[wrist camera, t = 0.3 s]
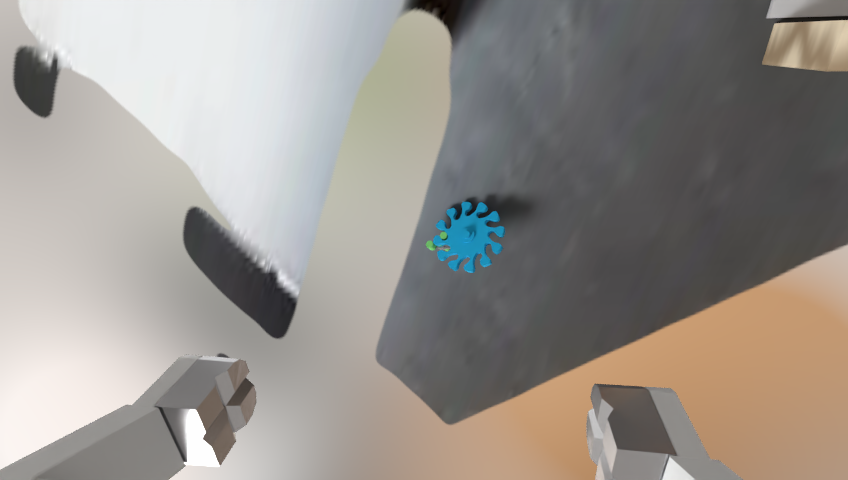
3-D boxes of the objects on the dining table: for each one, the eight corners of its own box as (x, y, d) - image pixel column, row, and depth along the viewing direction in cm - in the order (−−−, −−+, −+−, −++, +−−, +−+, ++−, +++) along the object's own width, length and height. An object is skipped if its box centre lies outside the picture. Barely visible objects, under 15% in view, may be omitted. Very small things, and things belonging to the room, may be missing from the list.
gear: (500, 193, 54) (505, 266, 51) (510, 209, 60) (515, 276, 56) (424, 206, 59) (424, 275, 55) (439, 220, 64) (440, 283, 61)
